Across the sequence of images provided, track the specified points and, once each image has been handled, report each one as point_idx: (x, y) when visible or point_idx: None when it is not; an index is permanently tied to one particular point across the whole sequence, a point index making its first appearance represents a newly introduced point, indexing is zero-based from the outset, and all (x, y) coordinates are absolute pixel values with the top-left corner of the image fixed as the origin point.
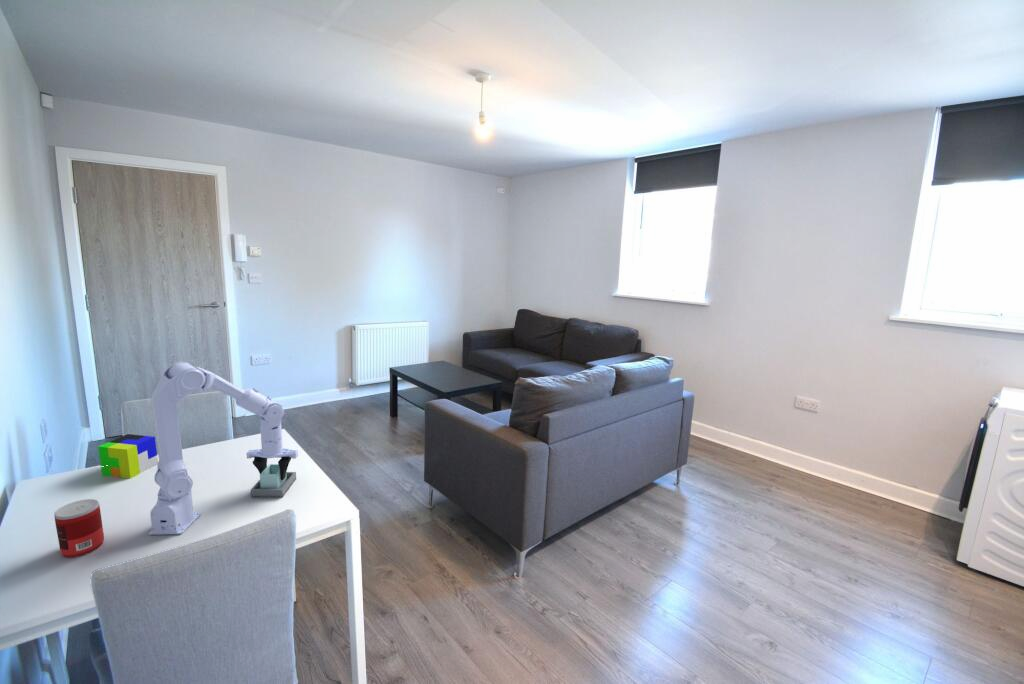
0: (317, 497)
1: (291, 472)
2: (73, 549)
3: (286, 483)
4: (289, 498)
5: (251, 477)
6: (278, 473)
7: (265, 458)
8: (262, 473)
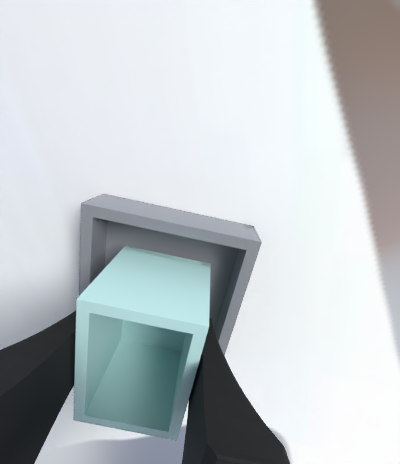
0: (339, 386)
1: (234, 242)
2: None
3: (222, 348)
4: (237, 370)
5: (15, 156)
6: (181, 421)
7: (9, 427)
8: (84, 412)
